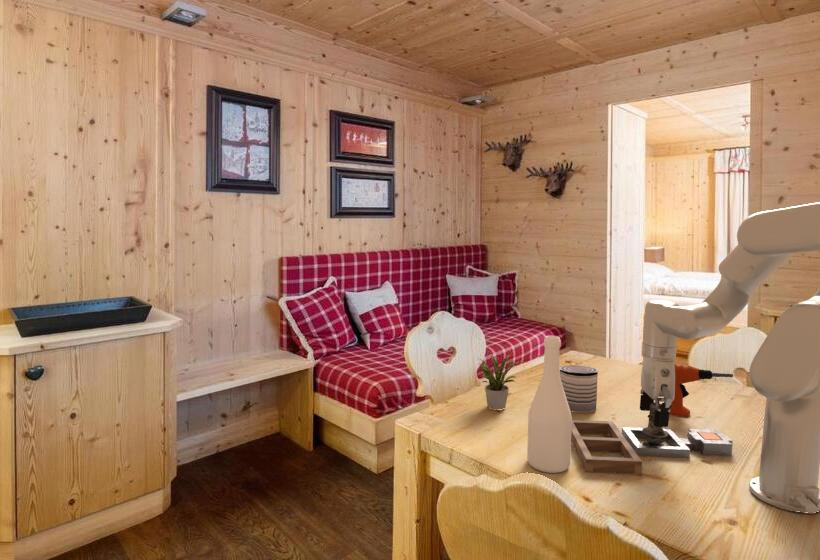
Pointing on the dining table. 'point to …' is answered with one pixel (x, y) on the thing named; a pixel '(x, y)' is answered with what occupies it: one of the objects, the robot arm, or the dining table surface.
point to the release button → (709, 436)
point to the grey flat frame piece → (680, 444)
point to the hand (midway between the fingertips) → (653, 418)
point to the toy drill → (682, 377)
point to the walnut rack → (604, 448)
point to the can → (580, 387)
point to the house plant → (497, 383)
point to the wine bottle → (550, 417)
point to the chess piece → (653, 430)
